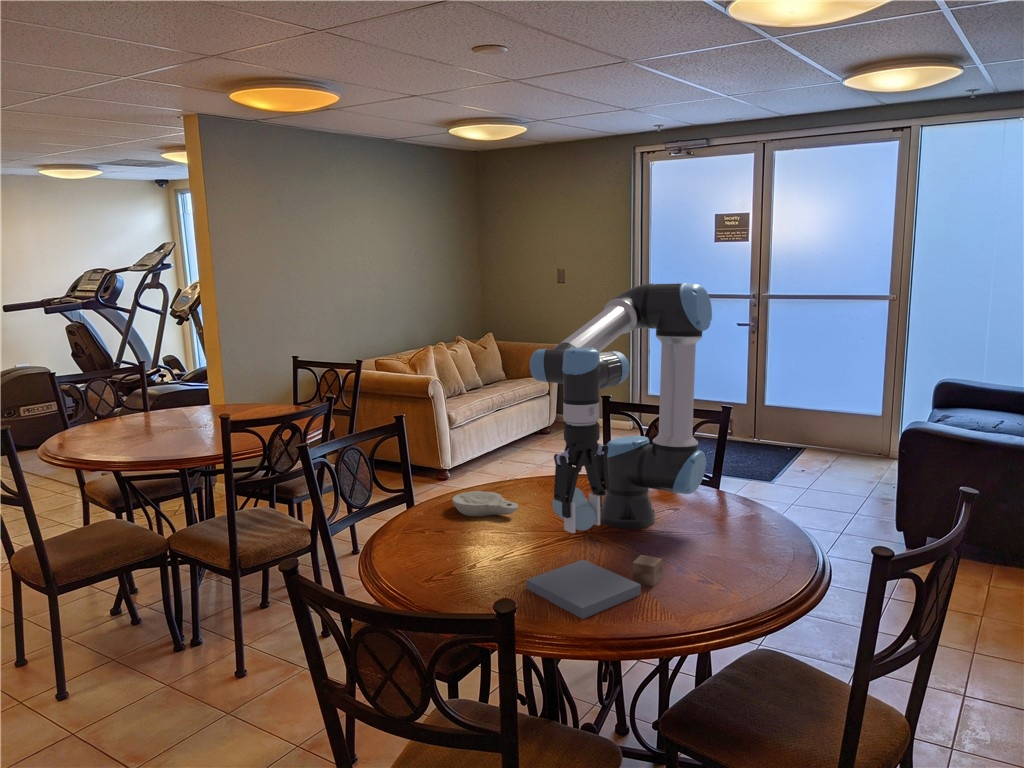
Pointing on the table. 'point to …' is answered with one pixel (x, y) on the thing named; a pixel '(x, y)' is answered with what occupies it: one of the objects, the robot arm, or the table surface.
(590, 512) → the cup
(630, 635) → the table surface
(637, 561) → the walnut block
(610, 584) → the plinth
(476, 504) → the oil lamp
